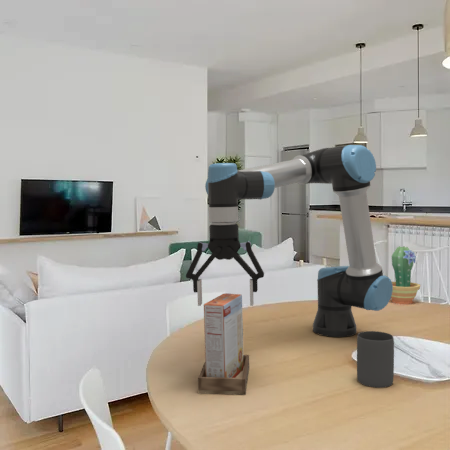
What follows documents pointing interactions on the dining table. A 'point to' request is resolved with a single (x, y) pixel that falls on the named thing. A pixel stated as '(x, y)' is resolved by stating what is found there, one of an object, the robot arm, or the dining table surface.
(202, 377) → the tray
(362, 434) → the dining table surface
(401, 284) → the potted cactus
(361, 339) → the mug
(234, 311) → the cracker box
